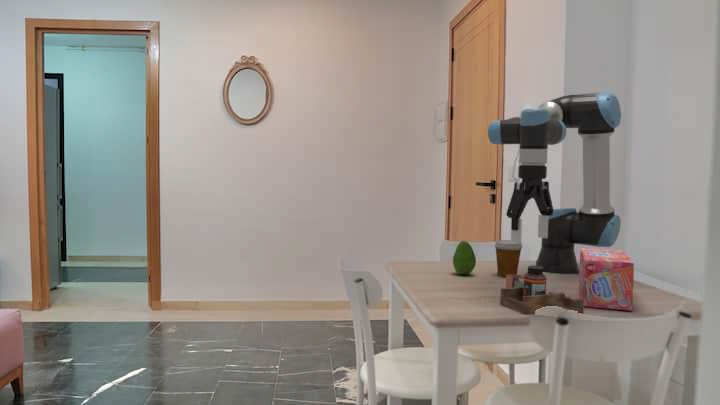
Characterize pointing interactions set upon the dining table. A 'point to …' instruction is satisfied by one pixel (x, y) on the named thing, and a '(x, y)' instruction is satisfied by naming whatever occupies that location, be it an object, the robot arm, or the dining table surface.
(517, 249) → the disposable coffee cup
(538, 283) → the supplement bottle
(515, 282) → the bar
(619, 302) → the box
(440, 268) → the dining table surface
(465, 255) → the avocado
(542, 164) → the robot arm
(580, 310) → the base
